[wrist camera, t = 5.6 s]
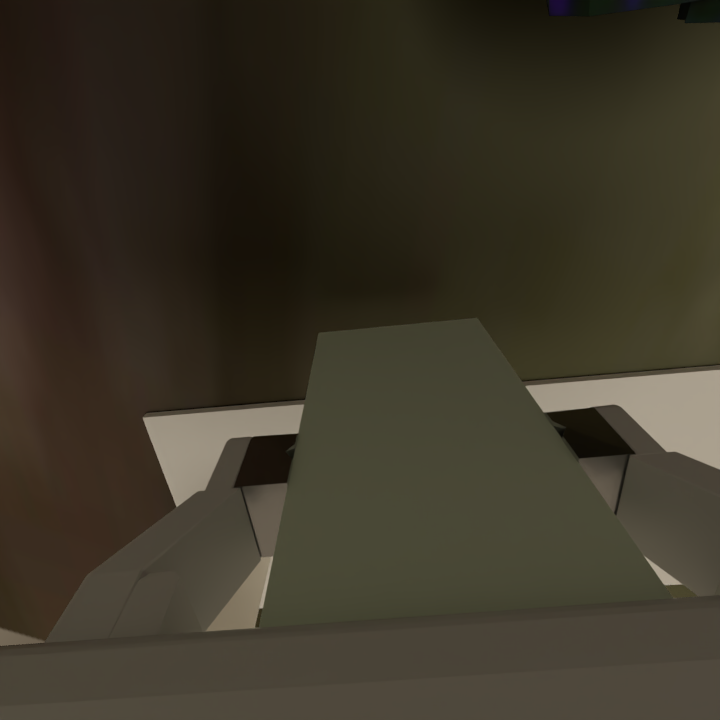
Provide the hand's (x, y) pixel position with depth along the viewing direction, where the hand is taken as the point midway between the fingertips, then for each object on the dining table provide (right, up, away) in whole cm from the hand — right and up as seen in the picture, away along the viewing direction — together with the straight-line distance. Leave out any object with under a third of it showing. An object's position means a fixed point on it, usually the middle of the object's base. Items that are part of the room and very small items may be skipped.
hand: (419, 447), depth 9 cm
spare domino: (0, +2, +5) cm, 5 cm away
